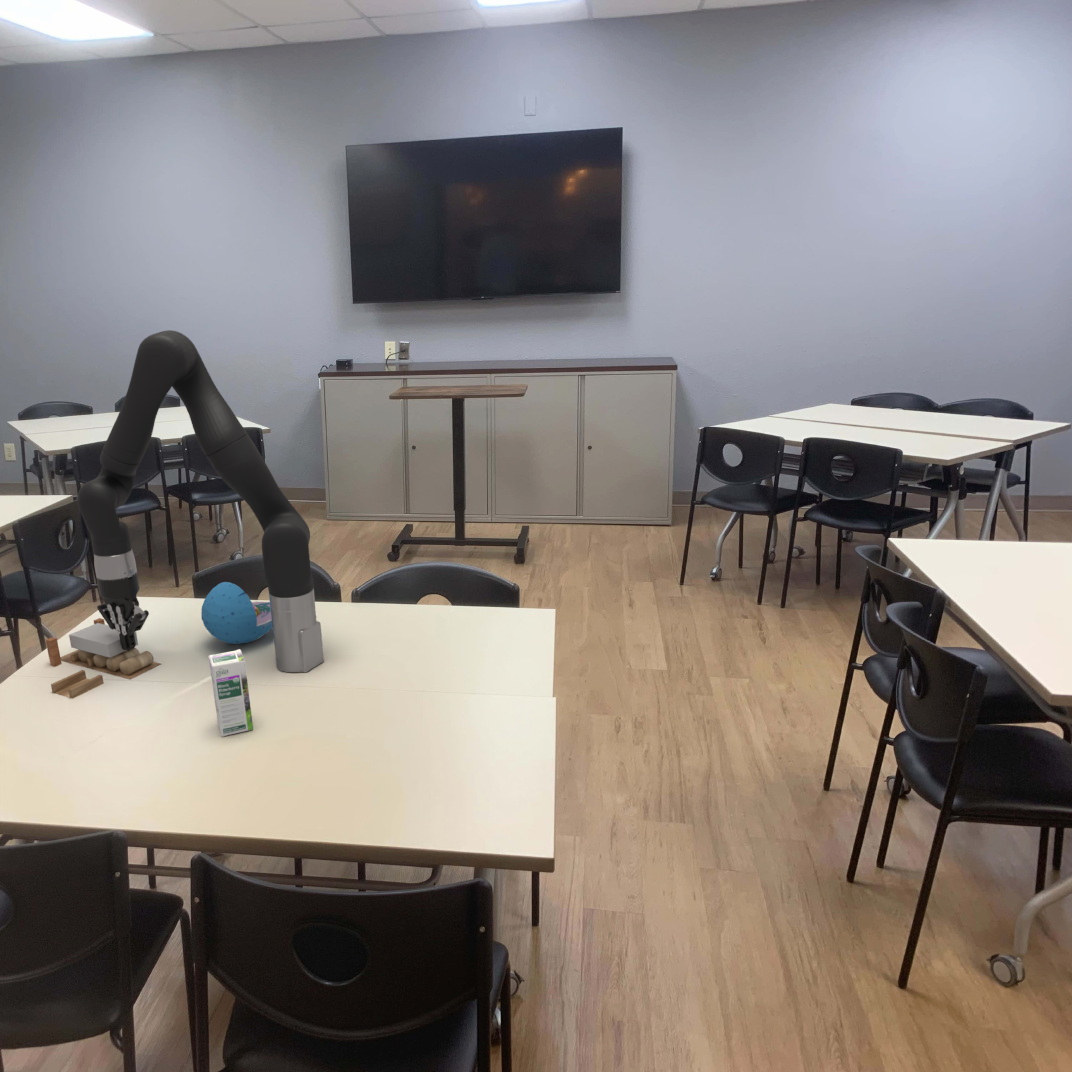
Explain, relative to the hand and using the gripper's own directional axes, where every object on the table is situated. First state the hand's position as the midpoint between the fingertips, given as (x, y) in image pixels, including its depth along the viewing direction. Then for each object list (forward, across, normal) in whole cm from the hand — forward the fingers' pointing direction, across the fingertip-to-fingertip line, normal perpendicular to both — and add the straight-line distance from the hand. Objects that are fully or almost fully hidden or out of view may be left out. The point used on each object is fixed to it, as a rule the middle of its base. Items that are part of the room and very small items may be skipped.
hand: (129, 648), depth 171 cm
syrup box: (+6, +36, -8) cm, 38 cm away
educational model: (+6, +10, +23) cm, 26 cm away
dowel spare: (+4, -12, 0) cm, 12 cm away
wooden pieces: (+6, -8, -4) cm, 10 cm away
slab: (+1, -8, 0) cm, 8 cm away
